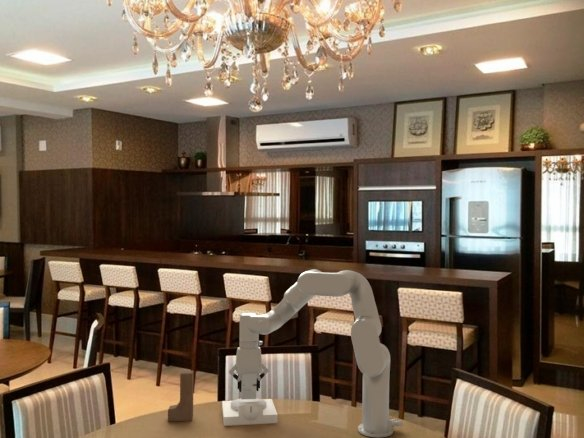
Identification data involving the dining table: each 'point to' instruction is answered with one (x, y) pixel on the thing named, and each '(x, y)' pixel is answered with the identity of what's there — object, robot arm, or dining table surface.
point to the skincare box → (248, 386)
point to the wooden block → (183, 399)
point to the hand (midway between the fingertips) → (248, 390)
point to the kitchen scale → (249, 412)
